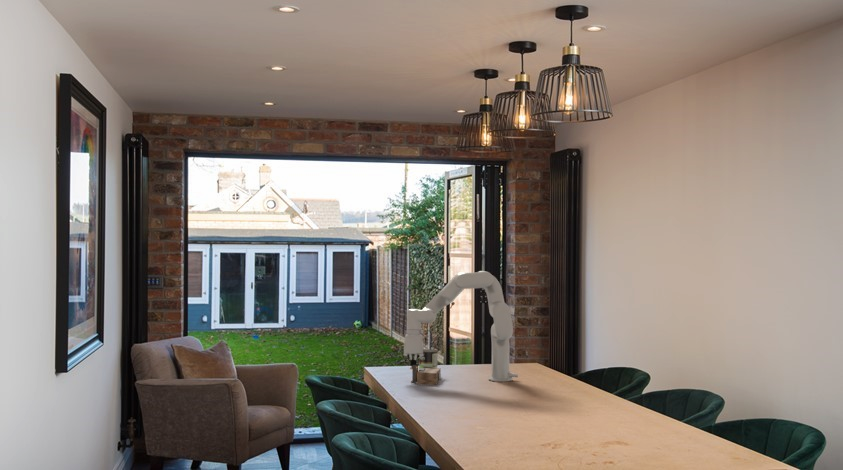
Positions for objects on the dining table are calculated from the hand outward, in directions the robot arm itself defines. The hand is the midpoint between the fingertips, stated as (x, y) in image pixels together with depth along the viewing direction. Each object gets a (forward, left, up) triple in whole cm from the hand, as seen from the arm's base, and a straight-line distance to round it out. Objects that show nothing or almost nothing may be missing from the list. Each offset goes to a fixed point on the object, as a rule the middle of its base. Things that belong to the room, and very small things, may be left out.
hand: (413, 367), depth 419 cm
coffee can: (-5, -19, -8) cm, 21 cm away
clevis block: (-6, 0, -8) cm, 10 cm away
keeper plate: (0, 0, -6) cm, 6 cm away
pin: (-8, 0, -7) cm, 11 cm away
